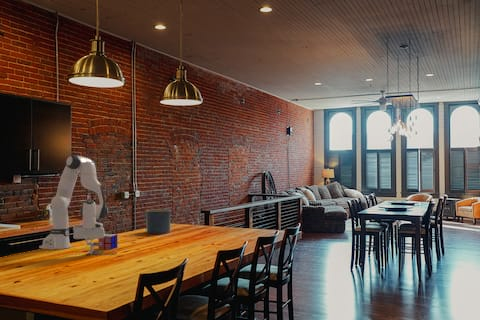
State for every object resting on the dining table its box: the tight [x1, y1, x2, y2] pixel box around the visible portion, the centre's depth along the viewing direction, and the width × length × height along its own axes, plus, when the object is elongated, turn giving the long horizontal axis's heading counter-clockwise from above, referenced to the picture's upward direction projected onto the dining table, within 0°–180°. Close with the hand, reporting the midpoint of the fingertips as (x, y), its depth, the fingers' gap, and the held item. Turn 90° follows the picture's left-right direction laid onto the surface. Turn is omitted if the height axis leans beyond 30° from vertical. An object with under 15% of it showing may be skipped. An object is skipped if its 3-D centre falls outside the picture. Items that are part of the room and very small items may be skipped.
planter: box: [145, 208, 172, 235], centre depth 405 cm, size 22×22×20 cm
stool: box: [89, 241, 103, 256], centre depth 304 cm, size 7×7×7 cm
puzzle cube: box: [98, 233, 118, 251], centre depth 325 cm, size 10×10×10 cm
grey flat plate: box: [85, 251, 118, 257], centre depth 304 cm, size 20×12×1 cm, turn 102°
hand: (89, 245), depth 302 cm, fingers closed
